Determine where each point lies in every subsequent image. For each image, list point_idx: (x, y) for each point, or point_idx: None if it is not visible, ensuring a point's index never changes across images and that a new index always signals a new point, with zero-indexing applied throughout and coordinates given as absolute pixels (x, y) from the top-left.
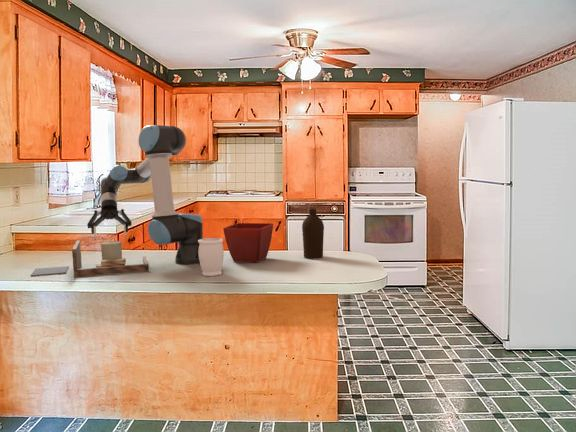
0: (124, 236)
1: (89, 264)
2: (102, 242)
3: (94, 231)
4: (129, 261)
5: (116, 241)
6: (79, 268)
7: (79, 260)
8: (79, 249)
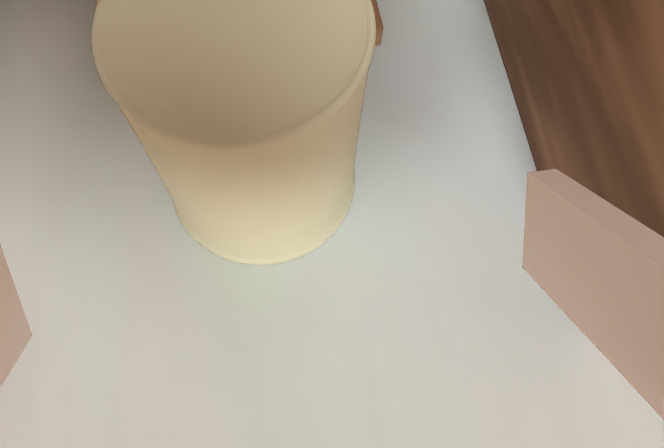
0: (9, 283)
1: (521, 360)
2: (363, 59)
3: (618, 217)
4: (112, 421)
5: (166, 103)
6: (518, 72)
7: (556, 82)
8: (634, 99)
